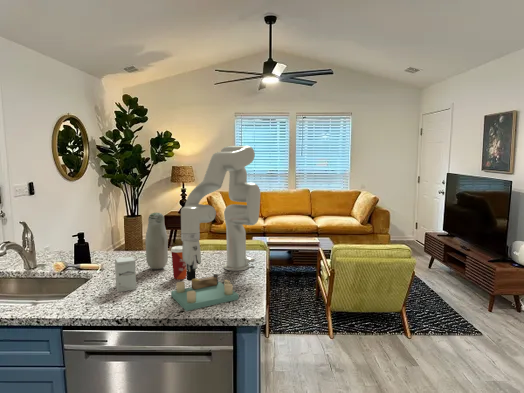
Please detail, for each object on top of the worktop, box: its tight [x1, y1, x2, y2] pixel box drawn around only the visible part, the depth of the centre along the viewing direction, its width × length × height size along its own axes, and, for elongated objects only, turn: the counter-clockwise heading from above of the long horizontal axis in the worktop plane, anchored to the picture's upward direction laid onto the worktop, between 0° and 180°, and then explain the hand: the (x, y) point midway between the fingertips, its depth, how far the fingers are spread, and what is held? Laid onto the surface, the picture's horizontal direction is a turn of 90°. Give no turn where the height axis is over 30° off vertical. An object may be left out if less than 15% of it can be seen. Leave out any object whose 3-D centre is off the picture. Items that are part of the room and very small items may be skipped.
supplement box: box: [114, 256, 137, 293], centre depth 153 cm, size 7×7×13 cm
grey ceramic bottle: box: [144, 212, 169, 270], centre depth 180 cm, size 10×10×28 cm
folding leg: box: [191, 273, 219, 289], centre depth 149 cm, size 11×2×4 cm, turn 121°
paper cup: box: [170, 245, 188, 280], centre depth 167 cm, size 8×8×14 cm
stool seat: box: [170, 279, 239, 312], centre depth 143 cm, size 21×17×6 cm
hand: (191, 279), depth 153 cm, fingers closed
